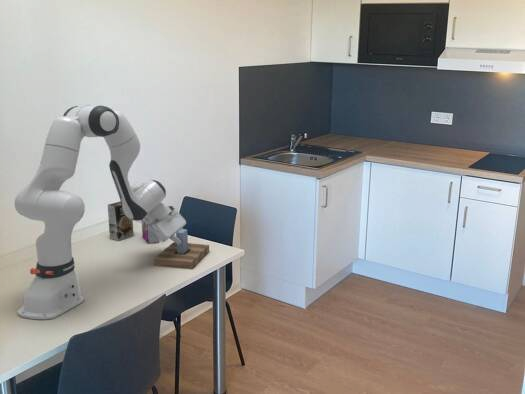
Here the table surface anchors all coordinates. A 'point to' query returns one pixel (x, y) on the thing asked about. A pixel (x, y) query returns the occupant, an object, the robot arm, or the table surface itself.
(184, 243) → the grey post
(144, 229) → the candy bar box
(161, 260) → the walnut block
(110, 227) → the coffee box
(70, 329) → the table surface
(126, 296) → the table surface
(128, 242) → the table surface
